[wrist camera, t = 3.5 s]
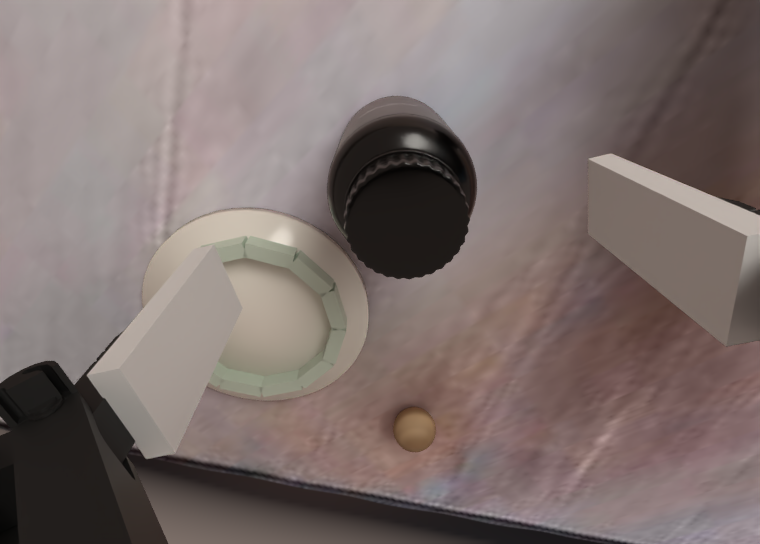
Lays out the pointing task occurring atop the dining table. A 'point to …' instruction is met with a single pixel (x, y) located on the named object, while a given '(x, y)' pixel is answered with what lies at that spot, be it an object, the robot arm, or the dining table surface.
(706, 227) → the robot arm
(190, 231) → the plate
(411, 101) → the supplement bottle
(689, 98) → the dining table surface
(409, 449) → the wooden bead
